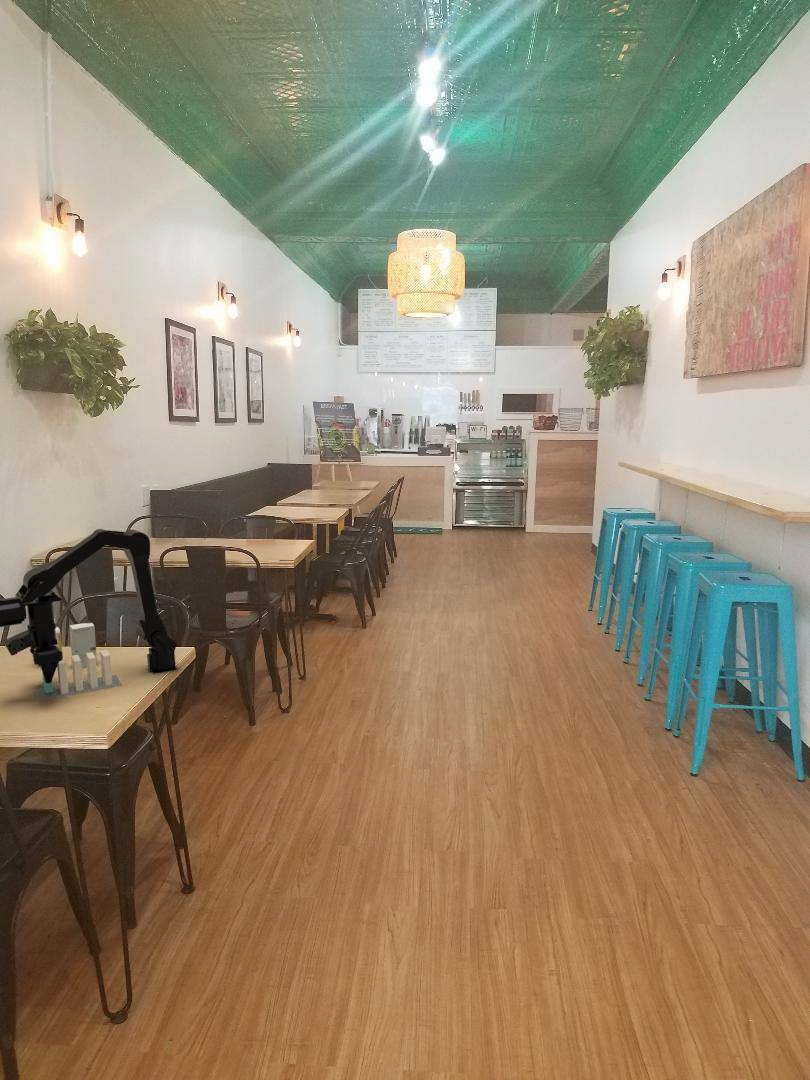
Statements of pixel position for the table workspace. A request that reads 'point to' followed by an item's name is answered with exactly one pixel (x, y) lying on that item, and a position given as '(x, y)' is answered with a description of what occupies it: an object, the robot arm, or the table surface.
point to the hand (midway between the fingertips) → (47, 679)
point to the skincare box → (83, 641)
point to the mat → (56, 693)
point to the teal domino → (47, 686)
